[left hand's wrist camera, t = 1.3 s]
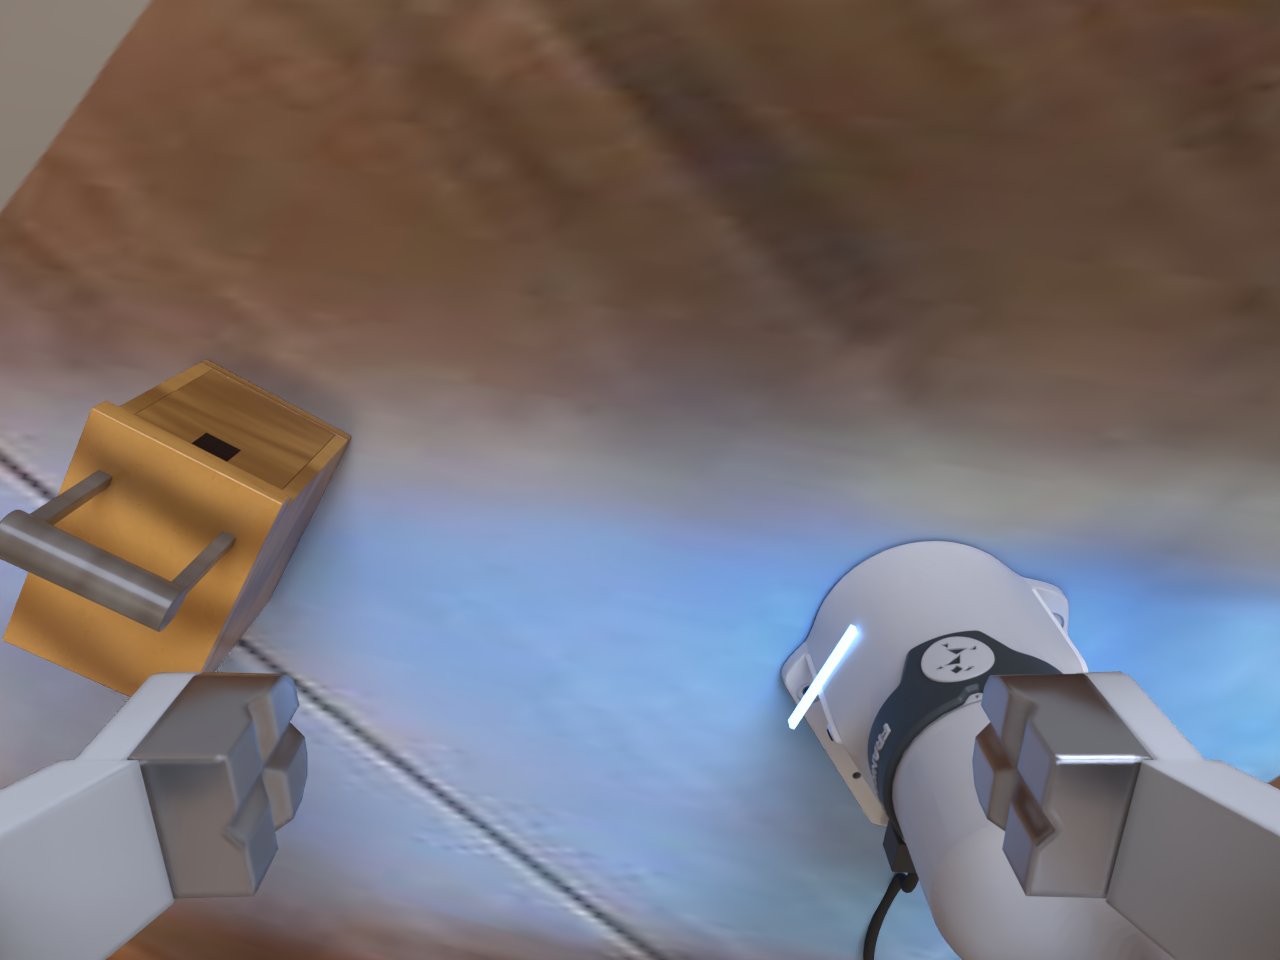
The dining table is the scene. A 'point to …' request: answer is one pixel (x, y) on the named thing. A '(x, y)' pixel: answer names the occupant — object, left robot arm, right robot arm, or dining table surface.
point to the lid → (137, 554)
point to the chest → (250, 460)
